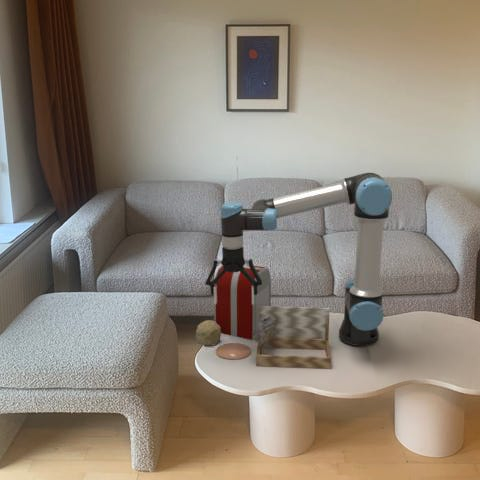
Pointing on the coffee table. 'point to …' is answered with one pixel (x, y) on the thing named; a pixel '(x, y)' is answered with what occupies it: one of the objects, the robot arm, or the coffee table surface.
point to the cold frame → (296, 336)
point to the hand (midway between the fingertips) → (234, 303)
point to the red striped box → (241, 302)
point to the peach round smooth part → (233, 351)
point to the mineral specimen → (265, 330)
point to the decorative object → (208, 333)
